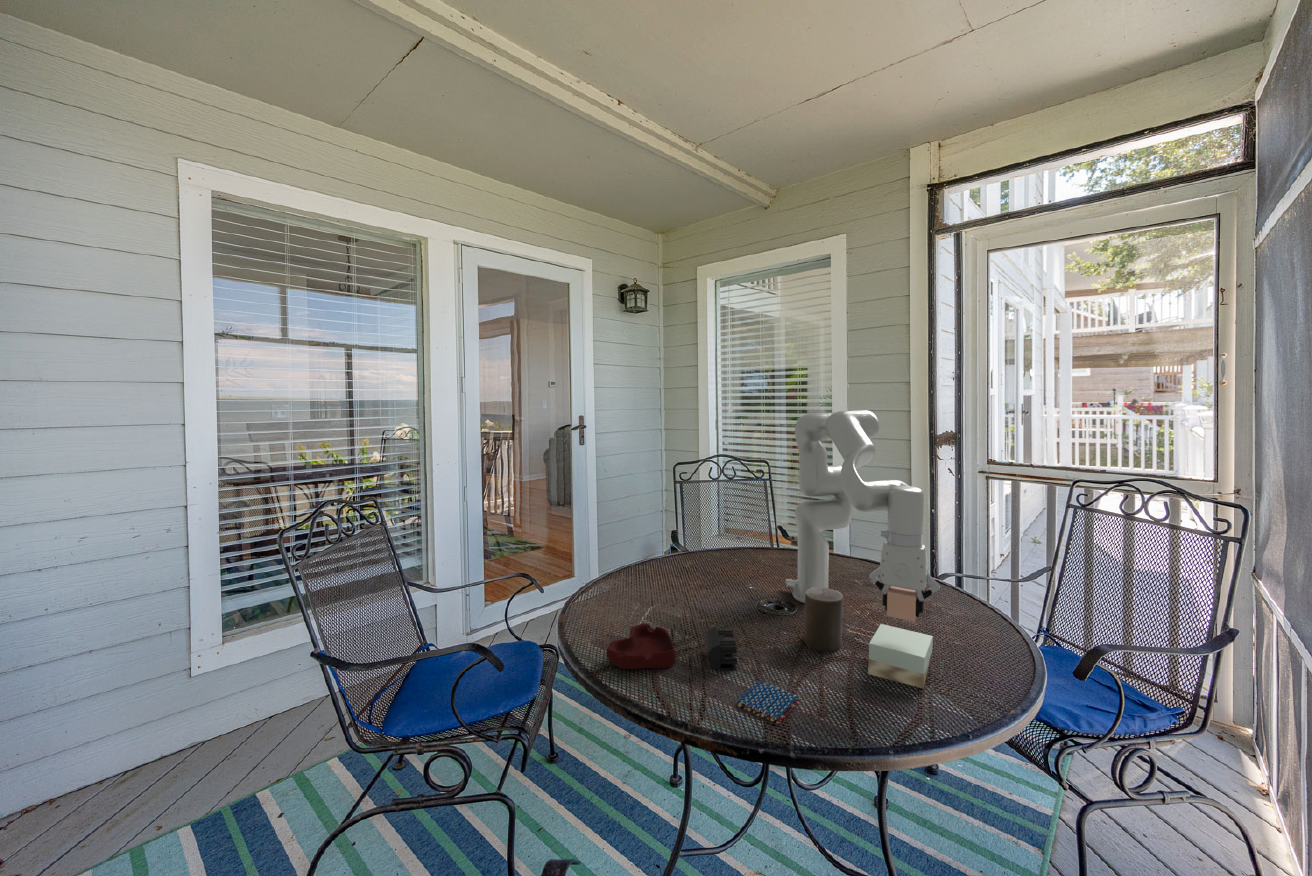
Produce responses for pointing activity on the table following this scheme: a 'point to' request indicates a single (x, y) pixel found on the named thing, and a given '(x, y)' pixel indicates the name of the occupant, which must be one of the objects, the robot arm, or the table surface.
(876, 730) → the table surface
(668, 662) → the ashtray
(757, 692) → the woven mat
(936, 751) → the table surface
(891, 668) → the birch slab
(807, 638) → the pillar candle
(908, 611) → the terracotta cube
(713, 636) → the end cap
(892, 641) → the sage slab
